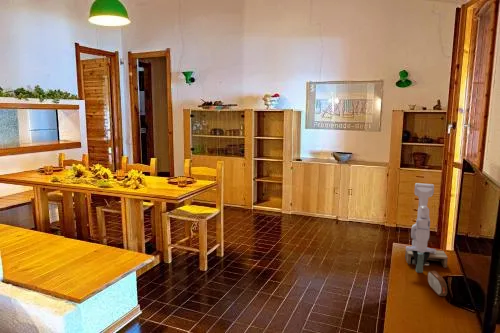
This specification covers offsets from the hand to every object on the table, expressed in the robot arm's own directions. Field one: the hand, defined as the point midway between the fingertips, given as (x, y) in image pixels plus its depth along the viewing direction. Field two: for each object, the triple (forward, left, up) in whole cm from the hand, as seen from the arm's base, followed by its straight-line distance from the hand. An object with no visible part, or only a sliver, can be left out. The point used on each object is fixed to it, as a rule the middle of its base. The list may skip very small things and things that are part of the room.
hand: (419, 264), depth 198 cm
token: (-11, +6, -4) cm, 13 cm away
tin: (+20, +4, -4) cm, 21 cm away
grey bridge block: (-13, +6, -4) cm, 14 cm away
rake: (-4, 0, -4) cm, 6 cm away
